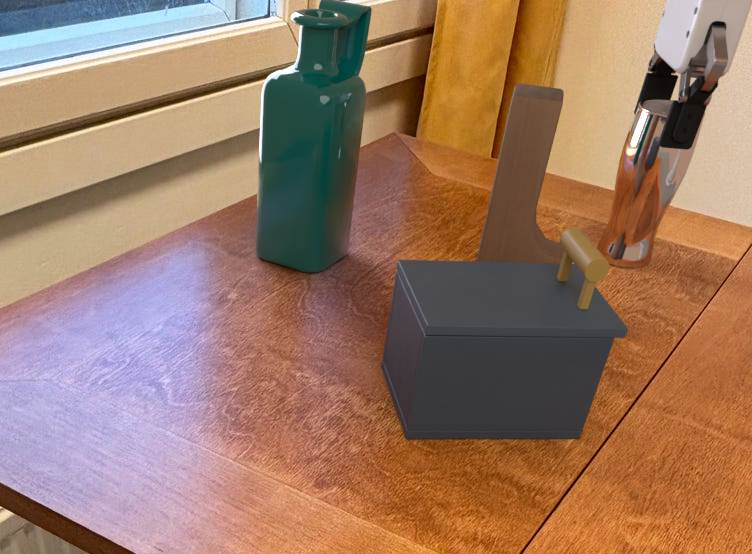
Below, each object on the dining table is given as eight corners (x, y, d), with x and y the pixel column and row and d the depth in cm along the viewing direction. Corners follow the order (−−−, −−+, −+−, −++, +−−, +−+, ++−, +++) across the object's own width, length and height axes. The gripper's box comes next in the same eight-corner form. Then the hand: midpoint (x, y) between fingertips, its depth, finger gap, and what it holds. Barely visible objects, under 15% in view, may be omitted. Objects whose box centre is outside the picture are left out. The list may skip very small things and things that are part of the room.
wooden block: (559, 289, 94) (615, 94, 81) (557, 307, 90) (615, 107, 78) (473, 275, 95) (515, 81, 82) (469, 292, 92) (512, 94, 79)
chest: (537, 368, 81) (565, 272, 75) (579, 439, 73) (615, 338, 67) (380, 367, 80) (396, 269, 73) (405, 439, 72) (425, 336, 65)
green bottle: (316, 278, 92) (339, 25, 76) (247, 257, 95) (256, 8, 79) (359, 248, 98) (389, 8, 83) (294, 229, 101) (311, -7, 85)
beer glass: (627, 275, 97) (680, 122, 86) (578, 252, 101) (622, 102, 90) (666, 262, 100) (721, 113, 90) (617, 240, 104) (664, 94, 93)
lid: (575, 272, 75) (593, 213, 72) (625, 338, 67) (648, 275, 64) (396, 268, 73) (405, 208, 70) (425, 335, 65) (437, 270, 62)
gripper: (812, -60, 73) (723, 163, 86) (742, -90, 86) (673, 109, 98) (723, -68, 73) (646, 157, 86) (665, -97, 85) (605, 104, 98)
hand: (660, 131), depth 92 cm, fingers open, 9 cm apart
